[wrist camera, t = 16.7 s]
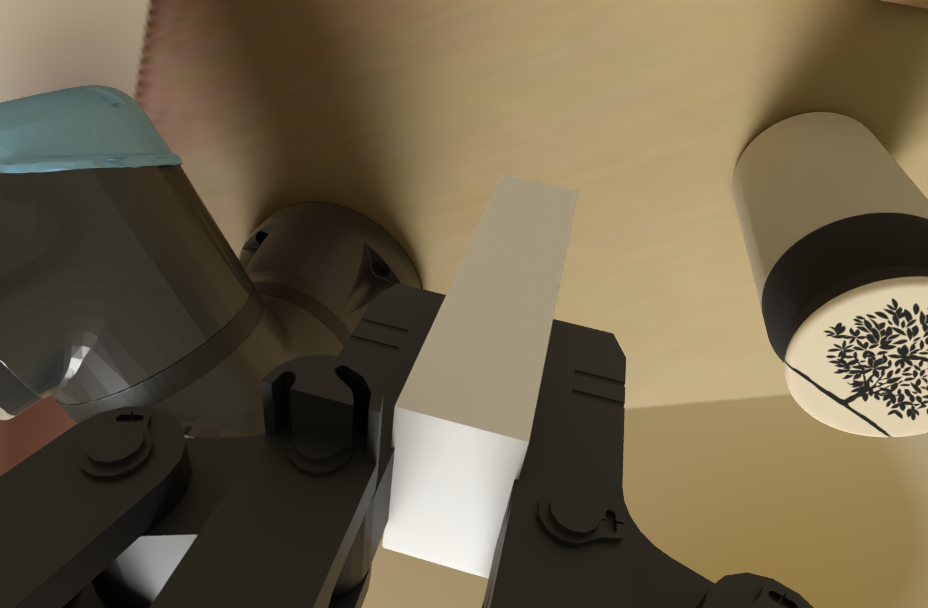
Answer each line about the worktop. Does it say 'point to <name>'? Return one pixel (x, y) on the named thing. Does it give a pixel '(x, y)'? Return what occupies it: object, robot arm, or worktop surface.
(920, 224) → the travel mug
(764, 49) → the worktop surface
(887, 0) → the plank
